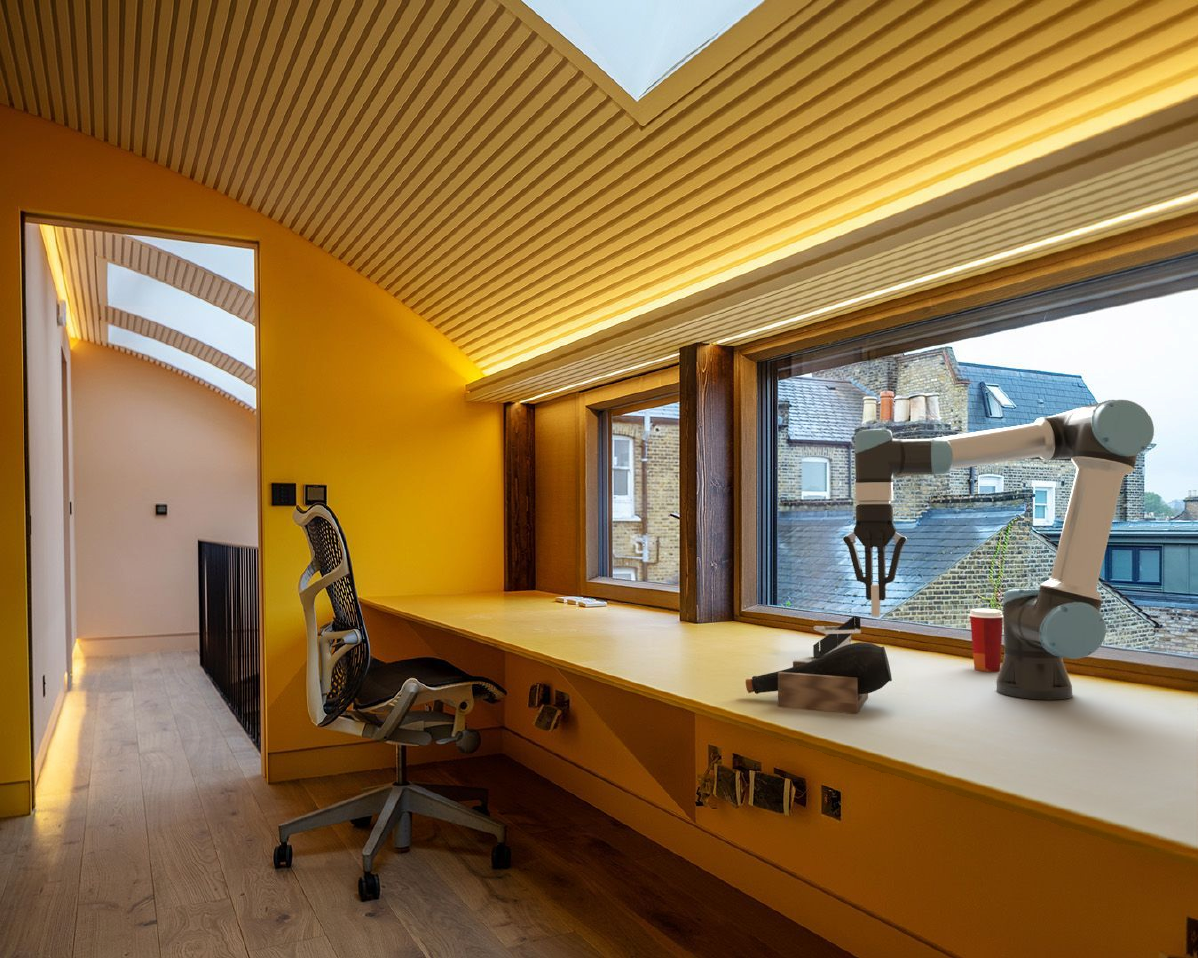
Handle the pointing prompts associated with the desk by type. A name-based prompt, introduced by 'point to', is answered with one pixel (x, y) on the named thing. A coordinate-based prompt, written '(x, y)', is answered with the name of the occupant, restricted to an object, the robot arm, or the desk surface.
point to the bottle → (838, 668)
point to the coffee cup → (986, 638)
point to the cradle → (819, 692)
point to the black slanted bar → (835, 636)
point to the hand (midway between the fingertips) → (876, 615)
